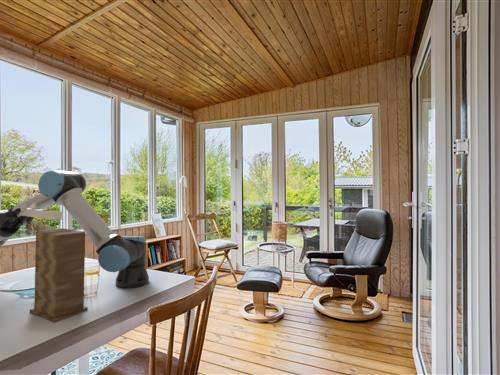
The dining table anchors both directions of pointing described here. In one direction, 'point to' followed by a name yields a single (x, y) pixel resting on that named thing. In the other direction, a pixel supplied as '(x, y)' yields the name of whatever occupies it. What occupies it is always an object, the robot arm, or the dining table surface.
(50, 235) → the walnut post
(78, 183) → the robot arm
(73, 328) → the dining table surface
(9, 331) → the dining table surface
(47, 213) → the domino bar
